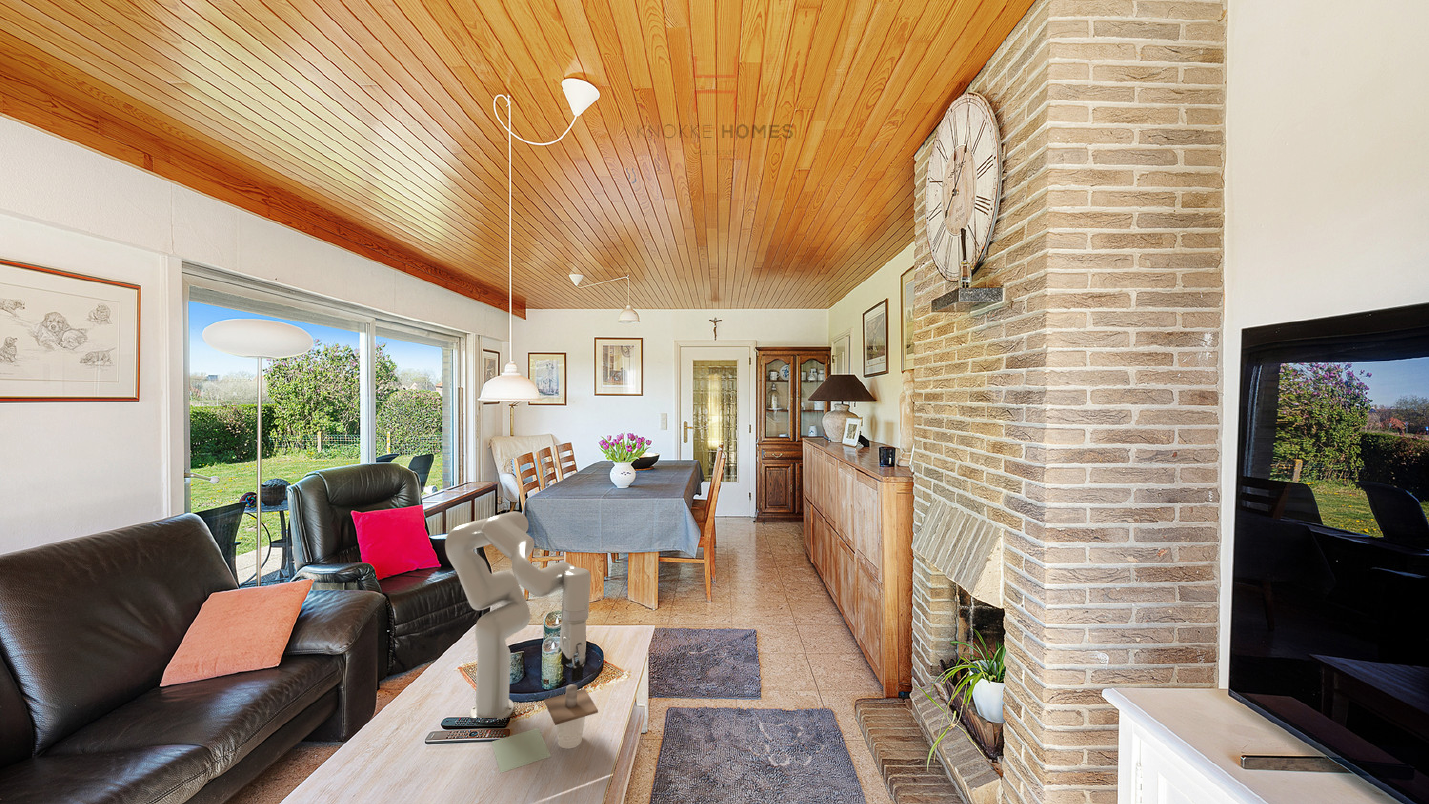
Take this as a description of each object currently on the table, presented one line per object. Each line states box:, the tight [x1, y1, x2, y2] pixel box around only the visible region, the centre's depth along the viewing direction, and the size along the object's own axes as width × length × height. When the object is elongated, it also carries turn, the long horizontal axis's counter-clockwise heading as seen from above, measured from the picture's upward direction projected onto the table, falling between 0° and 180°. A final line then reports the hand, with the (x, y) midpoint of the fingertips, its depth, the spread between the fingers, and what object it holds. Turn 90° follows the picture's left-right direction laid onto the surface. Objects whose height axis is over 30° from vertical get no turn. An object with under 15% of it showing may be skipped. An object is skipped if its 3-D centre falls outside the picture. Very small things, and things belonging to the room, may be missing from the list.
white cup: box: [556, 716, 586, 749], centre depth 149 cm, size 8×8×10 cm
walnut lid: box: [543, 683, 599, 726], centre depth 149 cm, size 12×12×6 cm
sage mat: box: [491, 727, 551, 774], centre depth 145 cm, size 14×13×1 cm
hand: (571, 671), depth 149 cm, fingers open, 9 cm apart
